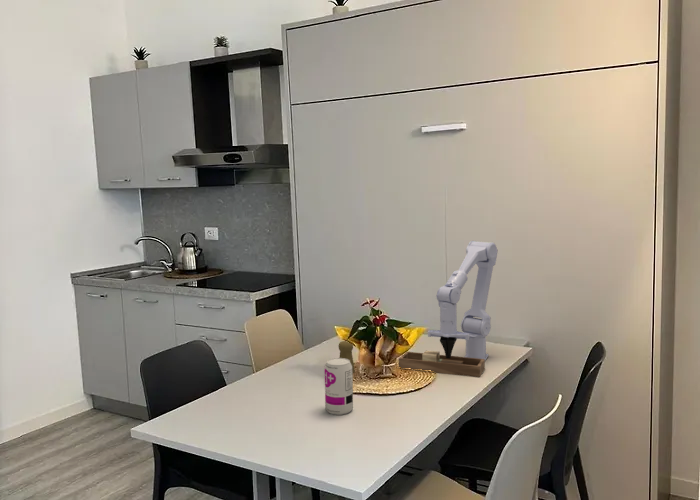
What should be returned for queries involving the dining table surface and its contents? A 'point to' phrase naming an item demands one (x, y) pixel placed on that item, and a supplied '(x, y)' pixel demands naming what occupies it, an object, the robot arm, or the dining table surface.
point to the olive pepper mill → (346, 352)
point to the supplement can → (338, 386)
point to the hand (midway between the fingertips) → (448, 357)
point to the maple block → (431, 356)
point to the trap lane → (444, 364)
